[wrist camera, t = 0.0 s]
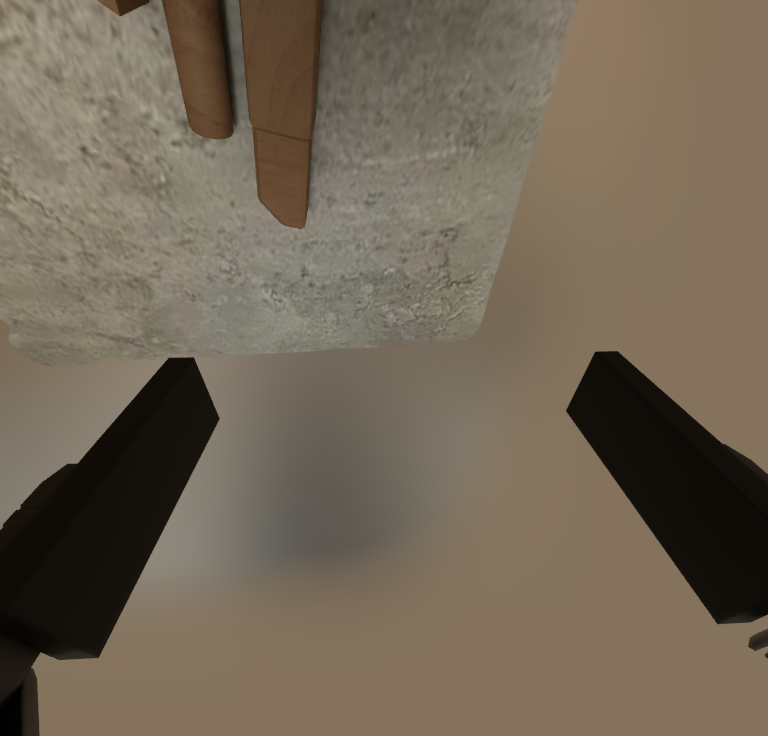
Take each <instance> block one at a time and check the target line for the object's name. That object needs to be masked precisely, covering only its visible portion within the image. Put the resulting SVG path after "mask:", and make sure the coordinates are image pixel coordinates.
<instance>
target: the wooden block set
mask: <svg viewBox="0 0 768 736" xmlns="http://www.w3.org/2000/svg"><path fill="white" fill-rule="evenodd" d="M98 1H99V2H101V3H102V4H103V5H105V6H106V7H108V8H109V9H110V10H112V11H113V12H115V13H116V14H117V15H119V16H122V15H124V14H126V13H128V12H130V11H132V10H134V9H136V8H138V7H141V6H143V5H145V4H147V3H149V0H98ZM162 2H163V7H164V11H165V16H166V21H167V25H168V30H169V35H170V39H171V44H172V48H173V53H174V58H175V62H176V67H177V72H178V76H179V81H180V85H181V90H182V95H183V99H184V104H185V109H186V113H187V118H188V123H189V126H190V128H191V129H192V131H193V132H195V133H196V134H198V135H201V136H203V137H207V138H212V139H226V138H229V137H231V136H232V134H233V131H234V130H233V122H232V114H231V105H230V97H229V89H228V80H227V72H226V64H225V56H224V47H223V39H222V31H221V23H220V14H219V6H218V0H162ZM239 3H240V15H241V27H242V39H243V50H244V62H245V74H246V86H247V98H248V110H249V119H250V122H251V124H252V125H253V127H252V129H253V141H254V154H255V166H256V179H257V191H258V198H259V200H260V202H261V203H262V204H263V205H264V206H265V207H266V208H267V209H268V210H269V211H270V212H271V214H272V215H273V216H274V217H275V218H276V219H277V220H278V221H279V222H280V223H281V224H283V225H285V226H289V227H294V228H299V229H302V228H303V227H305V223H306V217H307V211H308V199H309V179H310V159H311V139H312V133H313V128H314V123H315V118H316V103H317V85H318V67H319V50H320V32H321V14H322V0H239Z"/></svg>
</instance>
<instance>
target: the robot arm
mask: <svg viewBox="0 0 768 736" xmlns="http://www.w3.org/2000/svg"><path fill="white" fill-rule="evenodd" d="M566 411H567V413H568V414H569V416H570V417H571V419H572V420H573V421H574V423H575V424H576V426H577V427H578V428H579V430H580V431H581V433H582V434H583V435H584V437H585V438H586V440H587V441H588V443H589V444H590V445H591V447H592V448H593V449H594V451H595V452H596V454H597V455H598V457H599V458H600V459H601V461H602V462H603V464H604V465H605V466H606V468H607V469H608V470H609V472H610V473H611V475H612V476H613V477H614V479H615V480H616V482H617V483H618V485H619V486H620V488H621V489H622V490H623V492H624V493H625V495H626V496H627V497H628V499H629V500H630V501H631V503H632V504H633V506H634V507H635V509H636V510H637V511H638V513H639V514H640V516H641V517H642V518H643V520H644V521H645V523H646V524H647V525H648V527H649V528H650V530H651V531H652V532H653V534H654V535H655V537H656V538H657V540H658V541H659V542H660V544H661V545H662V547H663V548H664V549H665V551H666V552H667V554H668V555H669V556H670V558H671V559H672V561H673V562H674V563H675V565H676V566H677V568H678V569H679V571H680V572H681V573H682V575H683V576H684V578H685V579H686V580H687V582H688V583H689V585H690V586H691V587H692V589H693V590H694V592H695V593H696V594H697V596H698V597H699V599H700V600H701V602H702V603H703V604H704V606H705V607H706V608H707V610H708V611H709V613H710V614H711V616H712V617H713V618H714V619H715V621H716V623H717V624H726V623H727V624H728V623H745V622H752V621H754V620H757V619H759V618H761V617H763V616H765V615H768V474H767V473H765V472H764V471H763V470H762V469H761V468H760V467H759V466H757V465H756V464H755V463H754V462H753V461H752V460H750V459H748V458H747V457H745V456H744V455H742V454H740V453H738V452H737V451H735V450H734V449H732V448H730V447H729V446H727V445H725V444H722V443H721V442H720V441H718V440H717V439H716V438H715V437H714V436H713V435H712V434H711V433H709V432H708V431H707V430H706V429H705V428H704V427H703V426H702V425H700V424H699V423H698V422H697V421H696V420H695V419H693V418H692V417H691V416H690V415H689V414H688V413H687V412H686V411H685V410H683V409H682V408H681V407H680V406H679V405H678V404H677V403H675V402H674V401H673V400H672V399H671V398H670V397H669V396H667V395H666V394H665V393H664V392H663V391H662V390H661V389H660V388H658V387H657V386H656V385H655V384H654V383H653V382H651V380H649V379H648V378H647V377H646V376H645V375H644V374H643V373H641V372H640V371H639V370H638V369H637V368H636V367H635V366H634V365H632V364H631V363H630V362H629V361H628V360H627V359H626V358H624V357H623V356H622V355H621V354H620V353H619V352H618V351H615V352H614V351H608V352H595V353H594V356H593V357H592V359H591V362H590V363H589V366H588V368H587V370H586V372H585V374H584V376H583V378H582V380H581V382H580V384H579V386H578V388H577V390H576V392H575V394H574V396H573V398H572V400H571V402H570V404H569V406H568V408H567V410H566ZM219 419H220V418H219V416H218V414H217V411H216V409H215V407H214V404H213V402H212V399H211V397H210V395H209V392H208V390H207V388H206V385H205V383H204V380H203V378H202V376H201V374H200V371H199V369H198V366H197V364H196V362H195V359H194V357H192V358H168V360H167V361H166V362H165V363H164V364H163V365H162V366H161V368H160V369H159V370H158V371H157V372H156V373H155V375H154V376H153V377H152V378H151V379H150V380H149V381H148V383H147V384H146V385H145V386H144V387H143V388H142V390H141V391H140V392H139V393H138V394H137V396H136V397H135V398H134V399H133V400H132V401H131V403H129V405H128V406H127V407H126V408H125V409H124V410H123V412H122V413H121V414H120V415H119V416H118V418H117V419H116V420H115V421H114V422H113V423H112V424H111V426H110V427H109V428H108V429H107V430H106V431H105V433H104V434H103V435H102V436H101V437H100V438H99V440H98V441H97V442H96V443H95V444H94V445H93V446H92V448H91V449H90V450H89V451H88V452H87V453H86V454H85V456H84V457H83V458H82V459H81V460H80V462H79V463H78V464H67V465H65V466H64V467H63V468H61V469H60V470H58V471H57V472H56V473H54V474H53V475H51V476H50V477H49V478H47V479H46V480H45V481H43V482H42V483H41V484H40V485H39V486H38V487H37V488H36V489H35V490H34V491H33V492H32V494H31V495H30V496H29V497H28V498H27V499H26V500H25V501H24V502H23V504H21V508H20V509H19V510H16V511H15V512H14V513H13V514H12V515H11V516H10V517H9V519H8V520H7V521H6V522H5V523H4V524H3V528H2V529H1V530H0V736H39V716H38V692H37V678H36V675H35V672H34V670H33V668H31V666H32V665H33V663H34V662H35V660H36V658H37V657H38V655H39V654H40V652H41V653H44V654H46V655H48V656H51V657H54V658H56V659H58V660H66V659H84V658H99V656H100V654H101V652H102V650H103V648H104V646H105V644H106V642H107V640H108V638H109V636H110V634H111V632H112V630H113V628H114V626H115V624H116V622H117V620H118V618H119V616H120V614H121V612H122V611H123V609H124V606H125V604H126V603H127V601H128V599H129V597H130V594H131V593H132V591H133V589H134V586H135V585H136V583H137V581H138V579H139V577H140V575H141V573H142V571H143V569H144V567H145V565H146V563H147V561H148V559H149V557H150V555H151V553H152V551H153V549H154V547H155V545H156V543H157V541H158V539H159V537H160V535H161V534H162V531H163V530H164V527H165V526H166V524H167V522H168V520H169V518H170V516H171V514H172V512H173V510H174V508H175V506H176V504H177V502H178V500H179V498H180V496H181V494H182V492H183V490H184V488H185V486H186V484H187V482H188V480H189V478H190V476H191V474H192V472H193V470H194V468H195V466H196V464H197V462H198V460H199V458H200V457H201V454H202V453H203V451H204V449H205V446H206V444H207V443H208V441H209V439H210V437H211V435H212V433H213V431H214V429H215V427H216V425H217V423H218V421H219ZM766 646H768V629H767V630H764V631H762V632H759V633H757V634H755V635H754V636H752V637H750V640H749V645H748V647H750V648H751V649H753V650H755V651H756V650H758V649H761V648H763V647H766ZM765 657H766V658H768V652H767V653H766V654H765Z"/></svg>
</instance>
